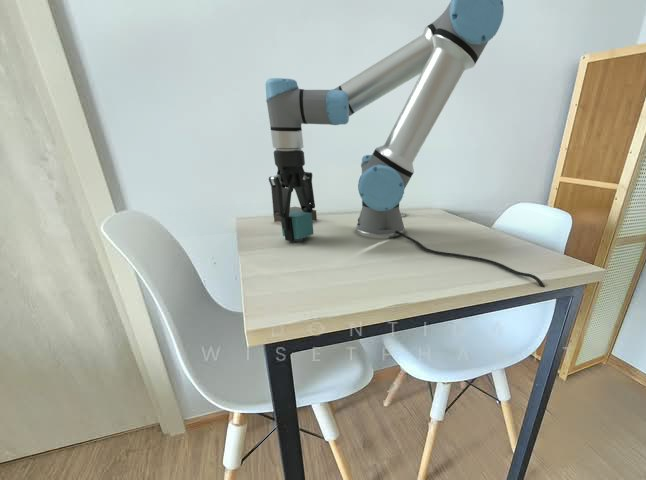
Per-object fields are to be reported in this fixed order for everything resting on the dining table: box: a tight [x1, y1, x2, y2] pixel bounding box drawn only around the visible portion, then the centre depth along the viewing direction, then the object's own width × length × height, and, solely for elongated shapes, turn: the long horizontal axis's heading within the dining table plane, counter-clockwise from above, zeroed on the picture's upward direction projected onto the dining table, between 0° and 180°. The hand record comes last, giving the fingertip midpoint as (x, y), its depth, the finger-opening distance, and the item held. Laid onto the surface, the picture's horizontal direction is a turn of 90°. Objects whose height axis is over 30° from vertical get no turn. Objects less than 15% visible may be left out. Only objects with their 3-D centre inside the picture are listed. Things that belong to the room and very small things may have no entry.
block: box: [280, 211, 314, 239], centre depth 100 cm, size 6×6×6 cm
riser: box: [272, 206, 318, 223], centre depth 122 cm, size 10×10×4 cm
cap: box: [293, 238, 305, 243], centre depth 102 cm, size 4×4×1 cm
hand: (298, 237), depth 101 cm, fingers closed on block, 6 cm apart
